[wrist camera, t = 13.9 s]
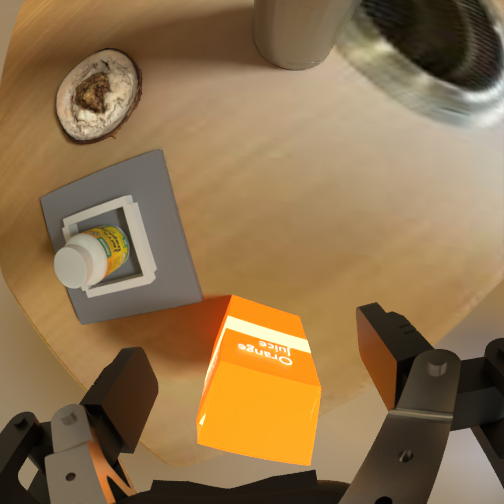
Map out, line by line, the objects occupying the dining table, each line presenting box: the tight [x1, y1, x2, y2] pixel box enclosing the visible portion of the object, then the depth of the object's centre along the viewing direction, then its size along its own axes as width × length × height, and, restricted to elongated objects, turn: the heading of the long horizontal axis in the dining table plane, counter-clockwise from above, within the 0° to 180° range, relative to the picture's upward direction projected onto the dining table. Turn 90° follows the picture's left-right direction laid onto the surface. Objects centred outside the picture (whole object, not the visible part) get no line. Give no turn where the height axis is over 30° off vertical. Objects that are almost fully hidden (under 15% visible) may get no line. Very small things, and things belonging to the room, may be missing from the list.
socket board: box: [40, 149, 203, 325], centre depth 33 cm, size 18×18×4 cm
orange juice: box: [196, 295, 321, 466], centre depth 28 cm, size 8×9×20 cm
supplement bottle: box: [54, 225, 130, 289], centre depth 29 cm, size 5×5×10 cm
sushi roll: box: [56, 48, 142, 144], centre depth 29 cm, size 15×15×4 cm
